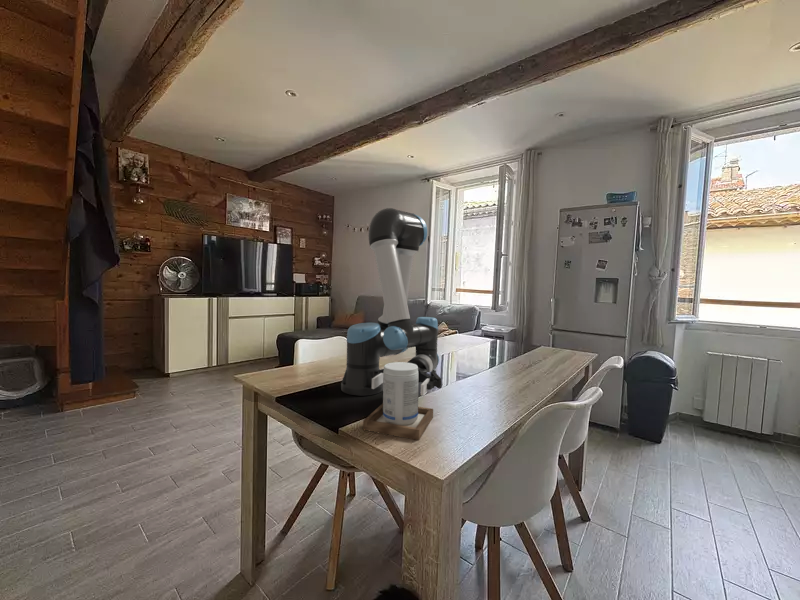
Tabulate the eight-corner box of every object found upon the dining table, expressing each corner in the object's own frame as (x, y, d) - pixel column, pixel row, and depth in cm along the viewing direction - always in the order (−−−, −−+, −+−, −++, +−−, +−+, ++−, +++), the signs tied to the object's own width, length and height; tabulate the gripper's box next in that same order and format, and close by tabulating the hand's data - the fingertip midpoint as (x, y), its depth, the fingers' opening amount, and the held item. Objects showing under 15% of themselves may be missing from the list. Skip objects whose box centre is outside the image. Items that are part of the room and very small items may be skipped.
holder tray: (363, 430, 85) (363, 420, 85) (384, 409, 100) (384, 401, 99) (419, 440, 81) (419, 430, 80) (433, 417, 95) (433, 408, 95)
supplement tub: (416, 412, 95) (418, 362, 94) (419, 427, 85) (420, 370, 85) (382, 412, 95) (384, 361, 94) (381, 426, 85) (382, 369, 85)
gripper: (457, 384, 103) (443, 407, 83) (382, 375, 111) (353, 394, 91) (457, 360, 102) (444, 378, 82) (382, 353, 110) (354, 367, 90)
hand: (396, 387), depth 86 cm, fingers open, 13 cm apart
